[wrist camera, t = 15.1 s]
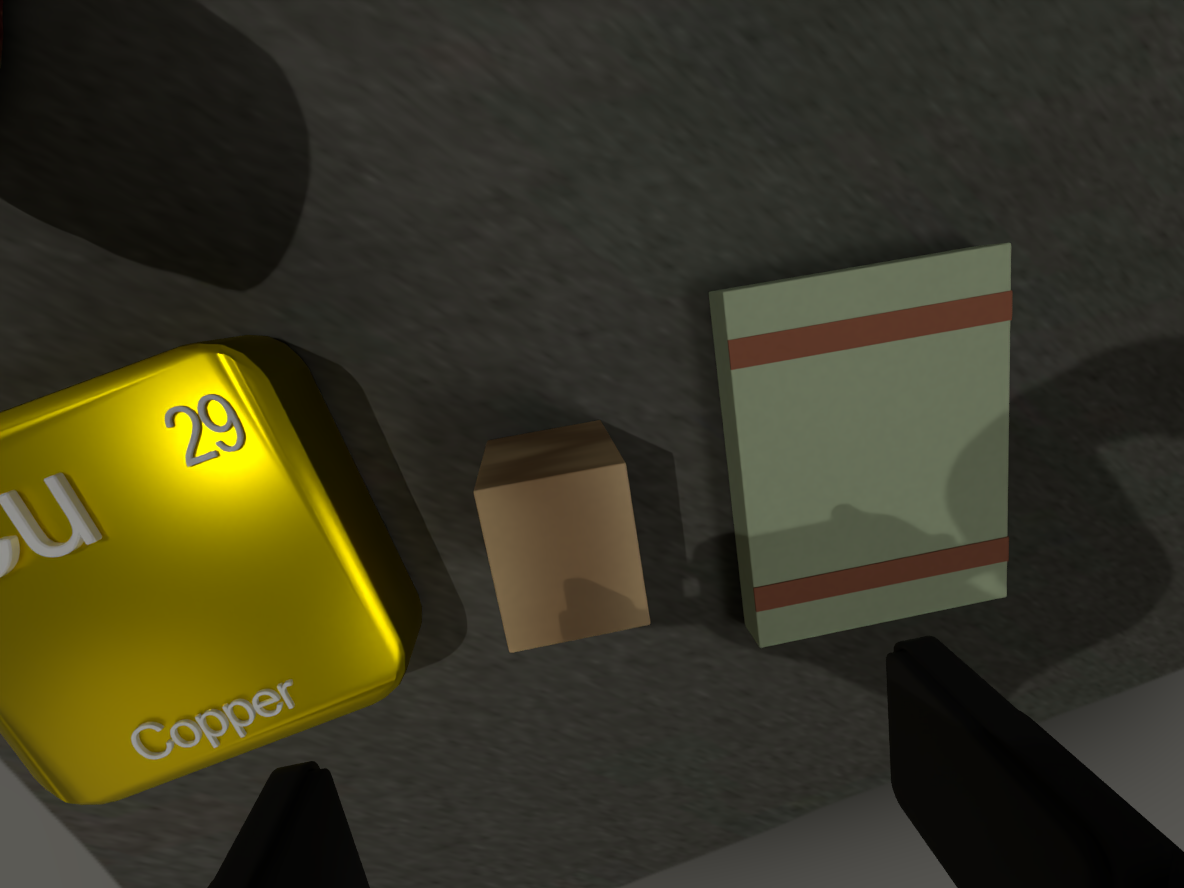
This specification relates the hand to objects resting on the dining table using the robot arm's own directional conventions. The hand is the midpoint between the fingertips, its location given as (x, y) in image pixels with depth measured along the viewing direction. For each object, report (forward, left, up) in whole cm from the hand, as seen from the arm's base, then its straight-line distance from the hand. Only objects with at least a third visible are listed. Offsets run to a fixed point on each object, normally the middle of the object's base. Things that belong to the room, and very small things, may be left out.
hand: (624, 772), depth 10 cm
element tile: (+16, 0, -18) cm, 24 cm away
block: (+1, +1, -18) cm, 18 cm away
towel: (-13, +1, -18) cm, 22 cm away
